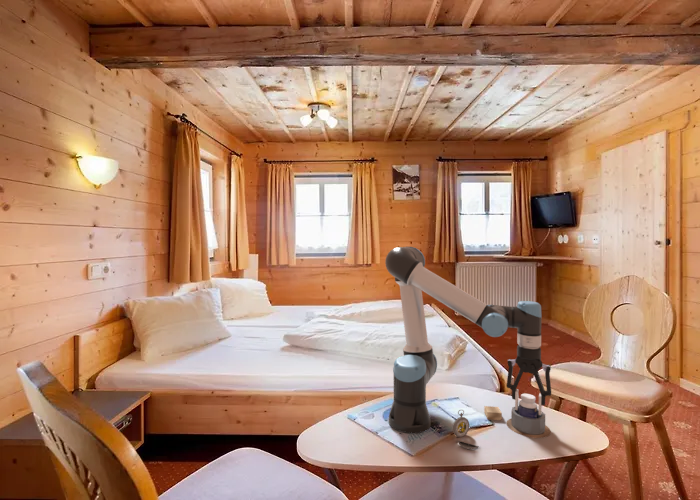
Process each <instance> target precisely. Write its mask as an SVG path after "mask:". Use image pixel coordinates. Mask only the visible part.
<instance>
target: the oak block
mask: <svg viewBox="0 0 700 500" xmlns="http://www.w3.org/2000/svg"><path fill="white" fill-rule="evenodd" d="M483 408H484V409H483V410H484V412H483V413H484V416H485V418H486V419H487V420H489V421H491V420H492V421H494V420H495V421H502V419H503V417H502V416H503V415H502V414H503V413H502V411H501V410H500V408H499V406H491V405H488V406H487V405H484V407H483Z"/></svg>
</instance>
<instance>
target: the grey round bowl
mask: <svg viewBox="0 0 700 500" xmlns="http://www.w3.org/2000/svg"><path fill="white" fill-rule="evenodd" d="M510 415H511V416H510V417H511V418H510V419H511V423H512V426H513V427H514V428H515V429H516V430H518V431H520V432H522V433H525V434H530V435H541V434H543V433H544V432H545V425H546V413H544V412H543V411H542V410H541V415H539V408H537V418H527V417H523V416H521V415H519V405H518V410H515V406H513V407H512V408H511V413H510Z"/></svg>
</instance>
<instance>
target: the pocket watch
mask: <svg viewBox="0 0 700 500" xmlns="http://www.w3.org/2000/svg"><path fill="white" fill-rule="evenodd" d="M457 415H459V417H458V418H456V419H455V421H454V422H453V425H452V433H453V434H454V436H455V437H457V438H463V437H465V436H466V435H467V434H468V432H469V430H470V421H469V419H468V418H467V417H465V416H463V415H465V410H464V409H459V410H458V411H457ZM457 443H458V445H459V446H460V447H461V448H463V449H465V450H466V449H467V450H476V449H478V448H479V445H475V444H471V443H468V442H465V441H460V440H457Z"/></svg>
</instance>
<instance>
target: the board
mask: <svg viewBox="0 0 700 500" xmlns="http://www.w3.org/2000/svg"><path fill="white" fill-rule="evenodd" d="M505 424H506V426H507V427H508V429H509V430H511V431H512V432H514V433H516V434H518V435H520V436H524V437H527V438H534V439H542V438H543V439H544V438H546V437H549V436H550V435H551V433H552V432H551V429H550V427H549V426H547V425H546V424H545V432H544V433H543V434H541V435H530V434H525V433H522V432H520V431H518V430H516V429H515V428H514V427H513V426H512V423H511V418H508V420H506V423H505Z"/></svg>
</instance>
